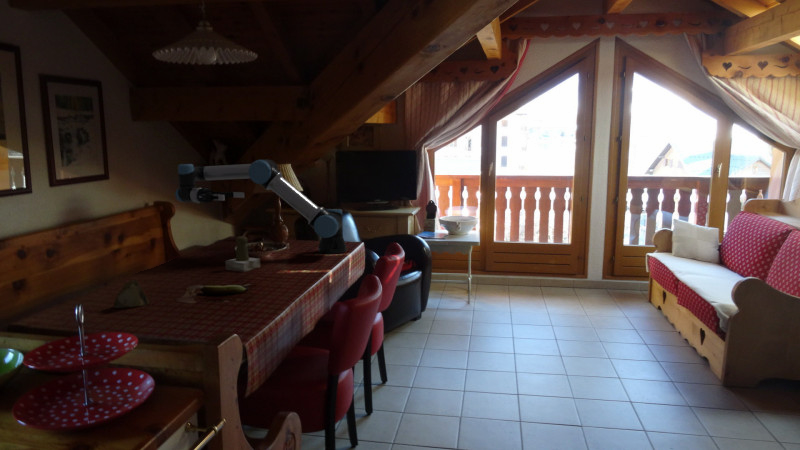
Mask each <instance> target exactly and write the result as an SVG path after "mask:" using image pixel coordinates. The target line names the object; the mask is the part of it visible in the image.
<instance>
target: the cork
mask: <svg viewBox="0 0 800 450" xmlns="http://www.w3.org/2000/svg"><path fill="white" fill-rule="evenodd" d="M235 243H236V253H235V258H236V261H247V260H249V250H248V246H247V243H248V237H246V236H241V235H240V236H237V237H236V238H235Z"/></svg>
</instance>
